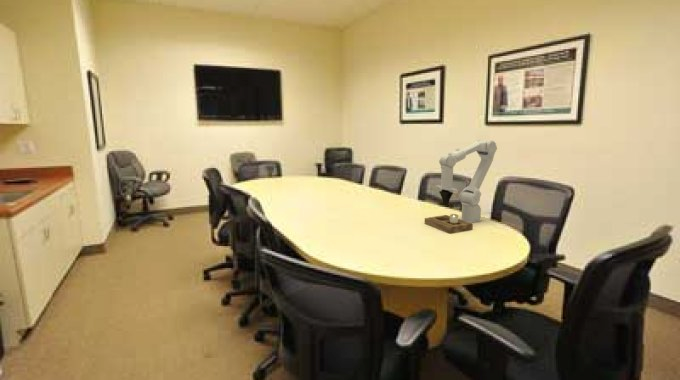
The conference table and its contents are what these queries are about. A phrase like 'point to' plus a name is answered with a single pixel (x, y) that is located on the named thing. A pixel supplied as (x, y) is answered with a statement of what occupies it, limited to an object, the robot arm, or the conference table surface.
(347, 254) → the conference table surface
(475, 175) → the robot arm
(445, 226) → the jig plate
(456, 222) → the battery
